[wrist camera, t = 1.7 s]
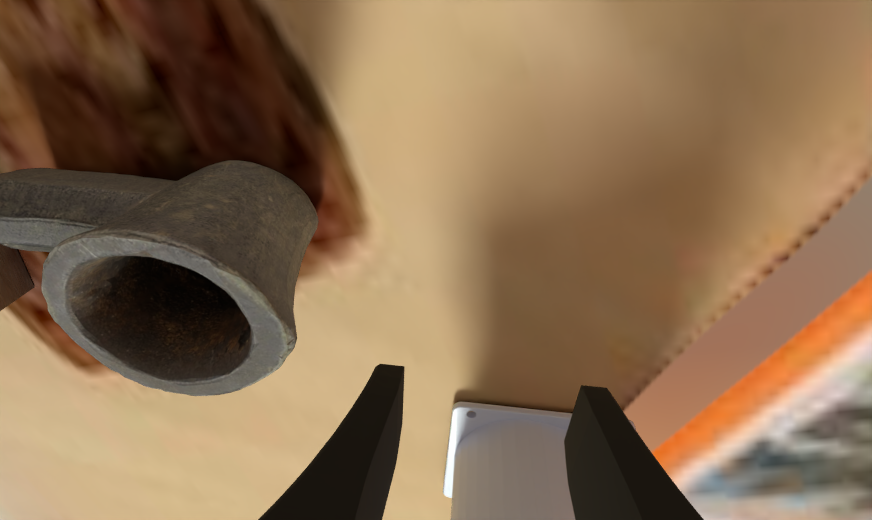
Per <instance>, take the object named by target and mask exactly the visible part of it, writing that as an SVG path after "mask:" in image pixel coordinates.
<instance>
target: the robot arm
mask: <svg viewBox="0 0 872 520" xmlns="http://www.w3.org/2000/svg"><path fill="white" fill-rule="evenodd" d="M403 391H404V366H395V365H385V364H379V365H378V366H376V367H375V369H374V371H373V373H372V375H371V377H370V379H369V381H368V382H367V384H366V386H365V388H364V389H363V391H362V393H361V394H360V396H359V397H358V399H357V400H356V402H355V404H354V405H353V407H352V408H351V410H350V411H349V412H348V414H347V415H346V417H345V418H344V420H343V421H342V422H341V424H340V425H339V427H338V428H337V430H336V431H335V432H334V434H333V435H332V436H331V438H330V439H329V440H328V442H327V443H326V444H325V445H324V447H323V448H322V449H321V450H320V452H319V453H318V454H317V455H316V457H315V458H314V459H313V461H312V462H311V463H310V464H309V465H308V467H307V468H306V469H305V470H304V471H303V472H302V474H301V475H300V476H299V477H298V478H297V479H296V481H295V482H294V483H293V484H292V485H291V486H290V487H289V488H288V489H287V490H286V492H285V493H284V494H283V495H282V496H281V497H280V498H279V499H278V500H277V501H276V502H275V503H274V504H273V505H272V506H271V507H270V508H269V509H268V510H267V511H266V512H265V513H264V514H263V515H262V516H261V517H260V518H259V519H258V520H382V517H383V513H384V509H385V505H386V501H387V497H388V493H389V489H390V485H391V482H392V478H393V474H394V470H395V466H396V461H397V454H398V448H399V441H400V435H401V428H402V417H403ZM469 411H474V412H469ZM443 494H444V495H445V496H447V497H450V498H452V506H451V520H704V519H703V518H702V517H701V516H700V515H699V513H698V512H697V511H696V510H695V509H694V507H693V506H692V505H691V504H690V502H689V501H688V500H687V499H686V498H685V496H684V495H683V494H682V493H681V491H680V490H679V489H678V488H677V486H676V485H675V484H674V482H673V481H672V480H671V478H670V477H669V476H668V475H667V473H666V472H665V470H664V469H663V468H662V466H661V465H660V464H659V462H658V461H657V460H656V458H655V457H654V456H653V454H652V453H651V452H650V450H649V449H648V447H647V446H646V445H645V443H644V442H643V440H642V439H641V438H640V436H639V435H638V433H637V432H636V429H635V426H634V423H633V422H632V421H630V420H628V419H627V417H626V416H625V414H624V413H623V411H622V410H621V408H620V407H619V405H618V404H617V402H616V400H615V399H614V397H613V396H612V395H611V393H610V392H609V390H608V389H607V388H602V387H592V386H583V385H581V388H580V391H579V394H578V397H577V401H576V404H575V407H574V410H573V413H564V412H554V411H545V410H536V409H527V408H518V407H508V406H499V405H490V404H481V403H472V402H457V403H455V404H454V405H453V409H452V417H451V426H450V434H449V443H448V451H447V460H446V468H445V477H444V485H443Z"/></svg>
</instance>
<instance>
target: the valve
mask: <svg viewBox="0 0 872 520" xmlns="http://www.w3.org/2000/svg"><path fill="white" fill-rule="evenodd" d="M33 288H34V285H33V283H32V281H31V278H30V276H29V274H28V272H27V270H26V268H25V265H24V263H23V261H22V259H21V257H20V255H19V252H18V250H17V249H14V248H10V247H7V246H5V245H2V244H0V311H1V310H2V309H4V308H5V307H7V306H8V305H10V304H11V303H12V302H14V301H15V300H17V299H18V298H20V297H21V296H22V295H24V294H25V293H27V292H28V291H30V290H31V289H33Z"/></svg>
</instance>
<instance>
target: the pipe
mask: <svg viewBox="0 0 872 520" xmlns="http://www.w3.org/2000/svg"><path fill="white" fill-rule="evenodd" d="M317 225H318V216H317V213H316V210H315V208H314V206H313V204H312V203H311V201H310V199H309V197H308V196H307V195H306V193H305V192H304V191H303V190H302V189H301V188H300V187H299V186H298V185H297V184H296V183H295V182H293V181H292V180H291V179H289V178H287V177H286V176H284V175H283V174H281V173H279V172H277V171H275V170H273V169H271V168H268V167H265V166H262V165H259V164H256V163H253V162H246V161H240V160H228V161H223V162H219V163H216V164H213V165H210V166H206V167H204V168H202V169H200V170H198V171H196V172H194V173H192V174H190V175H188V176H186V177H184V178H182V179H180V180H178V181H172V180H165V179H158V178H150V177H141V176H134V175H123V174H116V173H101V172H88V171H73V170H61V169H50V168H33V169H22V170H16V171H13V172H9V173H2V174H0V244H2V245H5V246H7V247H10V248H14V249H21V250H28V251H44V252H50V253H49V255H48V257H47V258H46V260H45V262H44V265H43V273H42V293H43V295H44V297H45V299H46V301H47V304H48V311H49V313H50V314H51V316H52V318H53V319H54V321H55V322H56V323H58V324H59V325H60V326H61V328H62V329H63V330H64V331H65V332H66V333H67V334H68V335H69V336H70V337H71V338H72V339H73V340H74V341H75V342H76V343H77V344H78V345H79V346H81V347H82V348H83V349H84V350H86V351H87V352H88V353H89V354H91V355H92V356H93V357H94V358H96V359H97V360H98V361H100V362H101V363H102V364H104V365H105V366H107V367H108V368H110V369H111V370H113V371H115V372H118V373H120V374H121V375H122V376H124V377H125V378H128V379H130V380H133V381H135V382H138V383H139V384H141V385H143V386H146V387H150V388H154V389H161V390H163V391H166V392H173V393H180V394H187V395H191V396H210V395H220V394H226V393H231V392H234V391H238V390H240V389H242V388H244V387H247V386H250V385H252V384H254V383H256V382H258V381H259V380H261V379H263V378H265V377H266V376H268V375H270V374H271V373H273V372H274V371H276V370H277V369H279V367H280V366H281V365H282V364H283V362H284V361H285V359H286V357H287V356H288V355H289V354H290V353H291V352H292V350H293V349H294V347H295V344H296V340H297V334H296V326H295V320H294V313H293V305H294V293H295V285H296V281H297V278H298V274H299V270H300V266H301V262H302V260H303V257H304V254H305V251H306V249H307V246H308V244H309V242H310V240H311V238H312V236H313V235H314V233H315V231H316V229H317Z"/></svg>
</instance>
